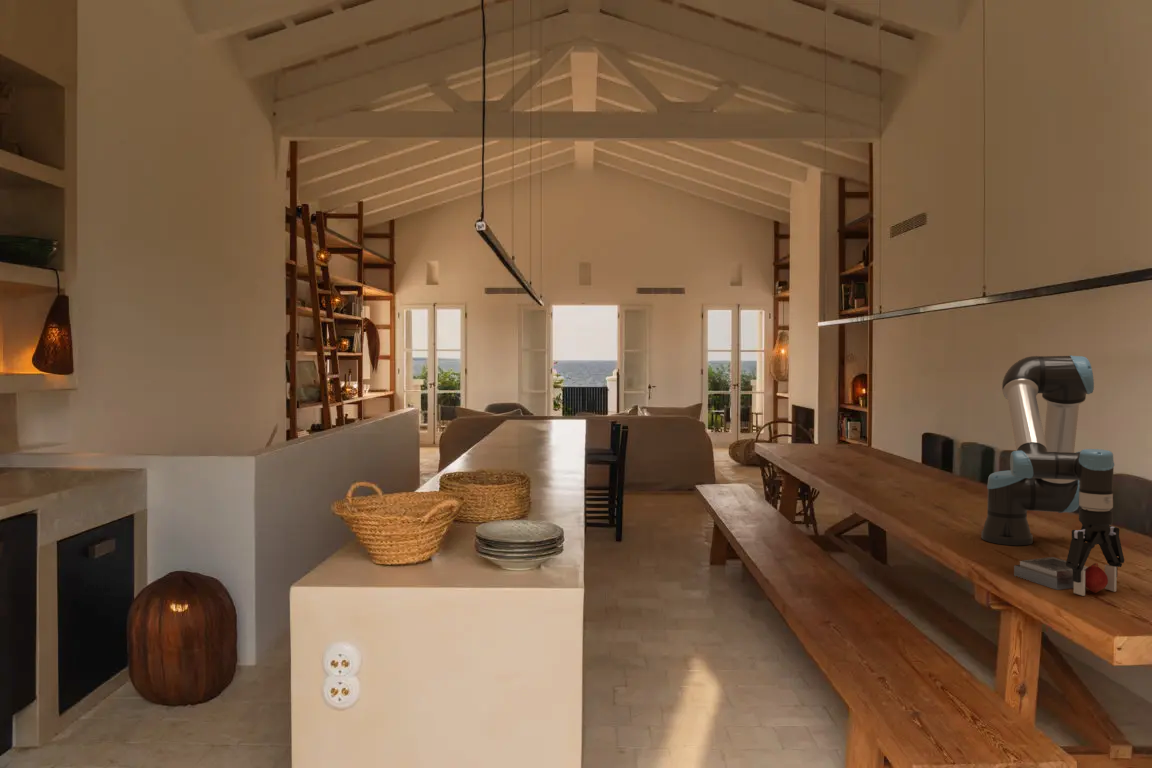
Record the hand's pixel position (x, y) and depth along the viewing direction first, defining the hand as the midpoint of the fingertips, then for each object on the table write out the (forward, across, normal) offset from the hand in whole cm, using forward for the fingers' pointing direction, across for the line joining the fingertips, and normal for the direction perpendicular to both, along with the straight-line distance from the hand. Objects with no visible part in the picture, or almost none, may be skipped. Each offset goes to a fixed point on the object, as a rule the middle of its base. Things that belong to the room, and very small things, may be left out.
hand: (1094, 592), depth 208 cm
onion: (0, 0, 0) cm, 0 cm away
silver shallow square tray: (0, 0, +12) cm, 12 cm away
